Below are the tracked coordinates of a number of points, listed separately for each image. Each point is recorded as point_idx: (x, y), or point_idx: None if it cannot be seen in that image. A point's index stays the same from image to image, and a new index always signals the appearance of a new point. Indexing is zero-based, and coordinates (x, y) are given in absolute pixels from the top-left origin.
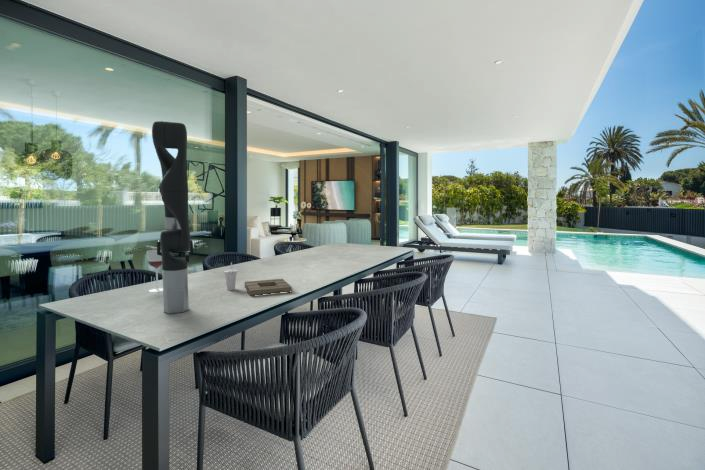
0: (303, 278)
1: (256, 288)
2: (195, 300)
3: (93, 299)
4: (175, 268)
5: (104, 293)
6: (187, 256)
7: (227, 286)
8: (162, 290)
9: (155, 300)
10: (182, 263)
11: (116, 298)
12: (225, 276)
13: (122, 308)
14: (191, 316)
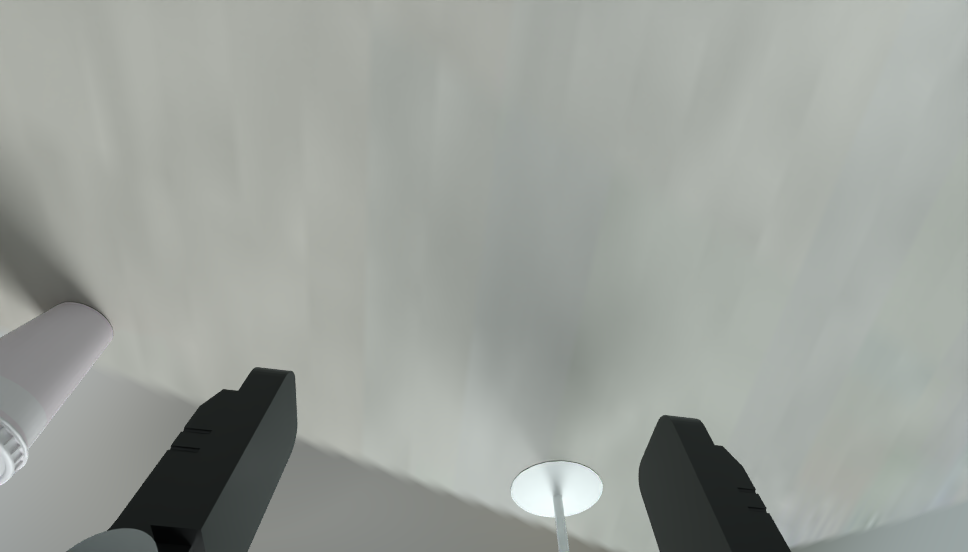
0: None
1: None
2: (341, 128)
3: (900, 455)
4: None
5: (804, 529)
6: (169, 507)
7: (84, 333)
8: (533, 471)
9: (620, 280)
10: None
11: (799, 425)
12: (33, 403)
13: (879, 173)
14: None
